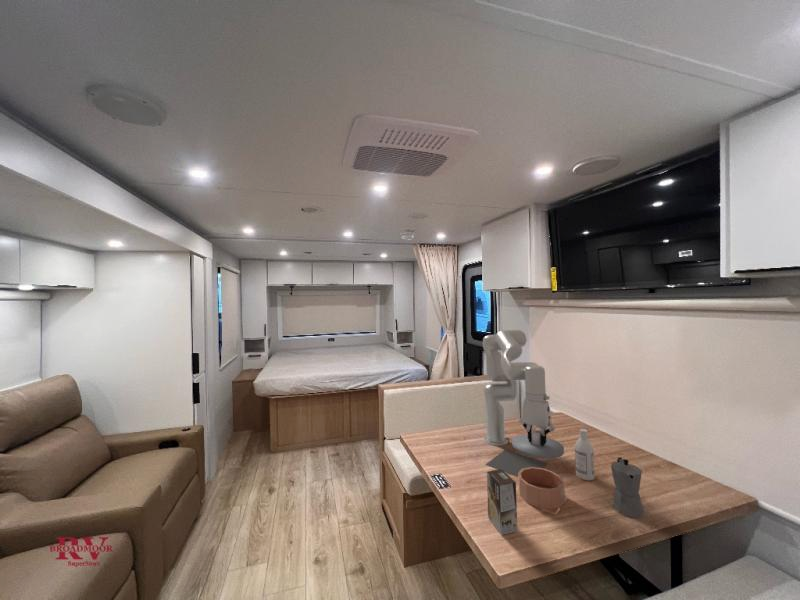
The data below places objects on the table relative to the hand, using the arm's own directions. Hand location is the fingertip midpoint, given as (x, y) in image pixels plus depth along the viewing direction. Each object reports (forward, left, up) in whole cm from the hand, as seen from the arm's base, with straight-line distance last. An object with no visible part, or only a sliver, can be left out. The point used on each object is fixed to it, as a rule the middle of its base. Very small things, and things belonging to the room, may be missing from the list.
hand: (537, 442), depth 122 cm
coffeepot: (-12, +27, -20) cm, 36 cm away
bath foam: (-26, +10, -20) cm, 34 cm away
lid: (0, 0, -2) cm, 2 cm away
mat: (-16, -16, -20) cm, 30 cm away
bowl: (+1, +1, -20) cm, 20 cm away
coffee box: (+26, -3, -20) cm, 33 cm away
